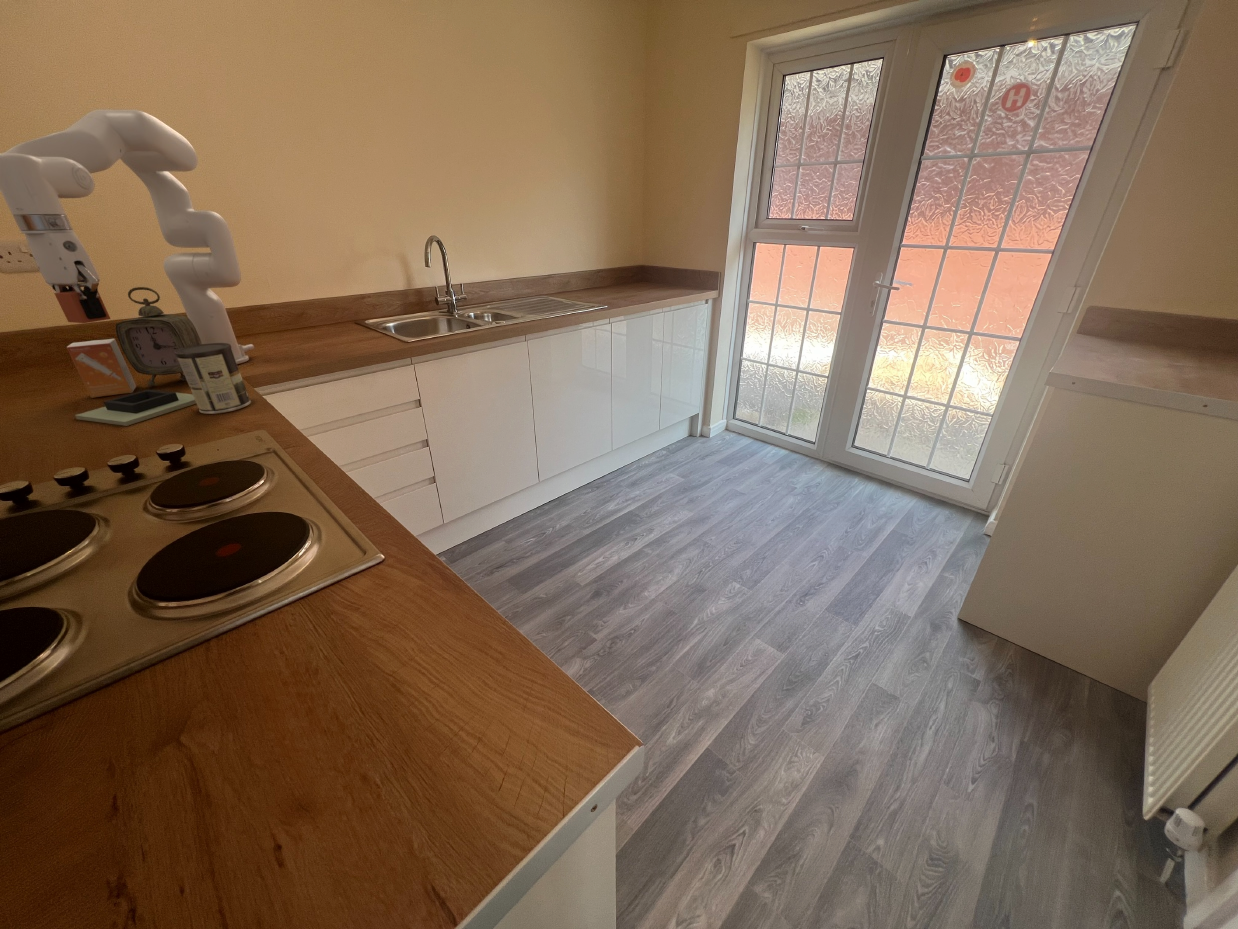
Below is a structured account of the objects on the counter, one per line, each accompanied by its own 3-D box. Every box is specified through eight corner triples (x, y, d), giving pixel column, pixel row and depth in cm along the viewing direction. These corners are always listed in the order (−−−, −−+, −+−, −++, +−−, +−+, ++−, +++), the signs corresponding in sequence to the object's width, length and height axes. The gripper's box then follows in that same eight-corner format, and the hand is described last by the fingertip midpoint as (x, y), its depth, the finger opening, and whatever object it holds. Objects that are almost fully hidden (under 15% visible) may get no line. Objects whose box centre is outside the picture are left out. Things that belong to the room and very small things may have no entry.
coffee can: (231, 397, 125) (210, 341, 119) (261, 401, 122) (241, 344, 116) (187, 411, 116) (162, 351, 110) (219, 416, 113) (194, 354, 107)
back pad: (161, 394, 128) (156, 383, 127) (208, 399, 124) (203, 388, 123) (76, 419, 113) (70, 406, 112) (126, 426, 109) (120, 413, 107)
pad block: (95, 317, 112) (82, 289, 110) (110, 318, 111) (98, 290, 108) (68, 322, 108) (53, 293, 105) (83, 323, 107) (69, 293, 104)
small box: (91, 398, 126) (64, 347, 120) (96, 392, 131) (72, 342, 125) (133, 392, 130) (109, 342, 124) (137, 386, 135) (115, 337, 129)
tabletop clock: (140, 389, 133) (95, 290, 121) (162, 379, 141) (122, 285, 129) (200, 385, 135) (161, 288, 123) (218, 376, 143) (183, 283, 131)
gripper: (95, 224, 102) (135, 316, 110) (41, 225, 107) (83, 313, 115) (49, 225, 96) (94, 322, 104) (-7, 225, 100) (41, 319, 108)
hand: (88, 316), depth 109 cm, fingers closed on pad block, 5 cm apart
